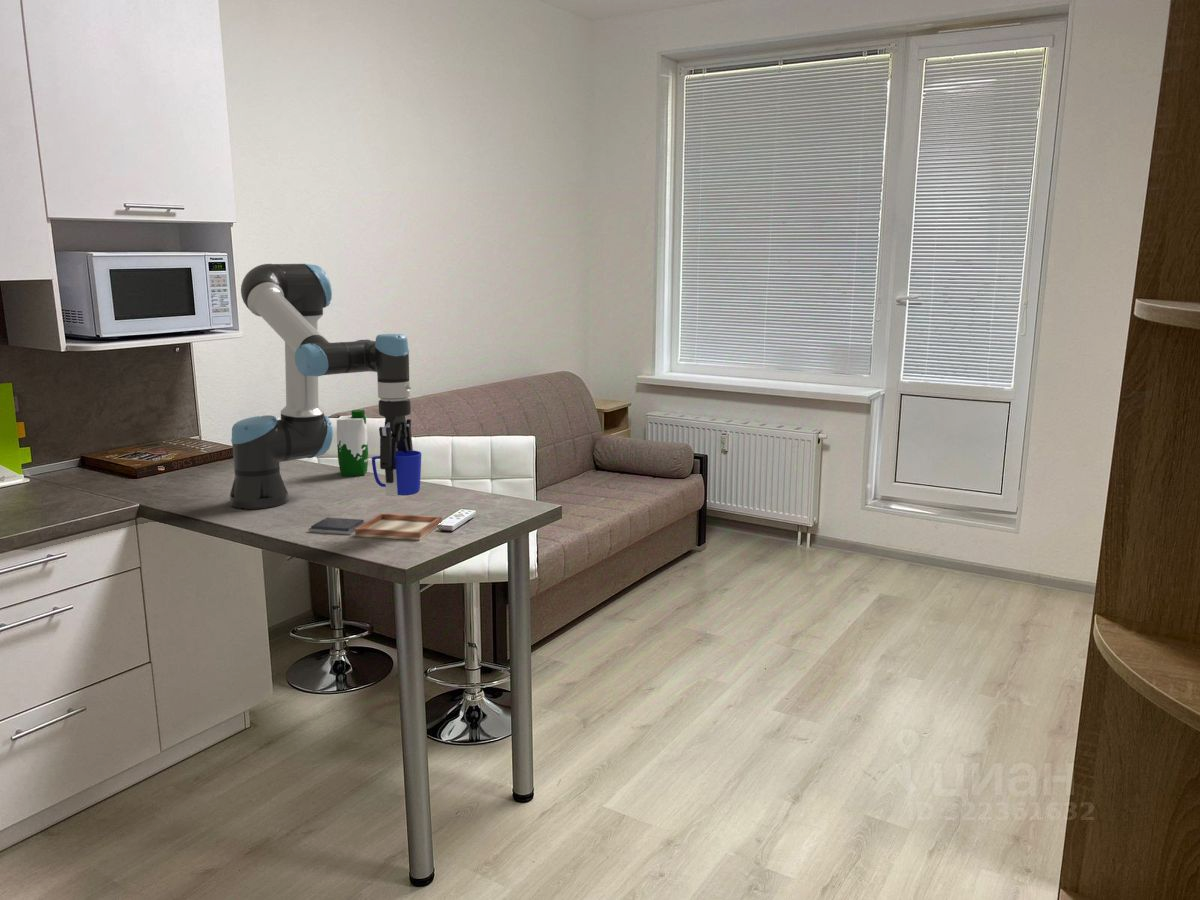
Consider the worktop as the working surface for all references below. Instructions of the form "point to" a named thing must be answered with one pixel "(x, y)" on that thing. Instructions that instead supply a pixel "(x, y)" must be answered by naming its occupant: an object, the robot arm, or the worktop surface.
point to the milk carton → (352, 444)
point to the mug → (404, 472)
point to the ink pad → (336, 526)
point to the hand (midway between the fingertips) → (398, 491)
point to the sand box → (398, 526)
